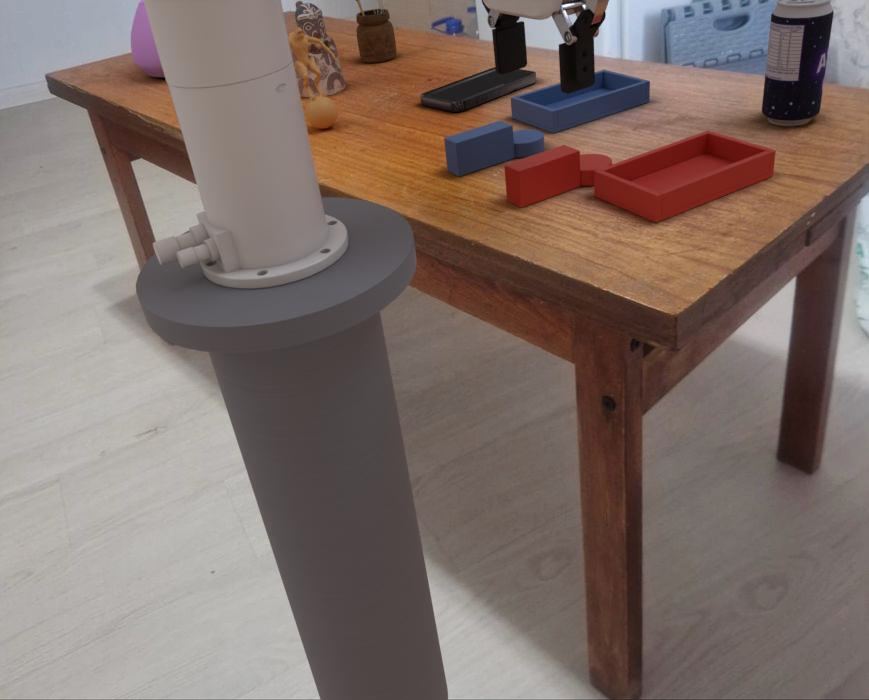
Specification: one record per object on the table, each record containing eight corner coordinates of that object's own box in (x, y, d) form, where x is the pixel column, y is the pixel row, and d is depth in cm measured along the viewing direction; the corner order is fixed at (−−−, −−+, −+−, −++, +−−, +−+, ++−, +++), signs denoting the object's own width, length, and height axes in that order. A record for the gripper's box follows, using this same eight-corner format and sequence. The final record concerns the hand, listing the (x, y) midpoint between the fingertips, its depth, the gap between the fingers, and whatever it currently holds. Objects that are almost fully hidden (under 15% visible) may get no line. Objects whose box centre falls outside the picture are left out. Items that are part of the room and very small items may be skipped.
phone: (416, 95, 106) (498, 65, 114) (417, 104, 107) (499, 73, 114) (456, 104, 101) (540, 72, 109) (457, 113, 102) (540, 80, 109)
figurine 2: (303, 140, 100) (282, 39, 94) (281, 131, 105) (259, 33, 98) (360, 121, 104) (343, 22, 97) (336, 113, 108) (318, 18, 102)
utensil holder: (383, 64, 127) (371, -19, 121) (351, 63, 130) (338, -18, 124) (404, 54, 131) (394, -27, 125) (373, 53, 134) (361, -26, 128)
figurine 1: (303, 101, 115) (284, 11, 109) (291, 90, 121) (273, 4, 114) (351, 90, 117) (335, 1, 110) (337, 79, 123) (322, -6, 116)
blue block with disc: (464, 179, 83) (460, 145, 82) (442, 168, 87) (438, 135, 85) (552, 149, 88) (551, 116, 86) (528, 140, 91) (526, 108, 89)
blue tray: (553, 133, 92) (552, 111, 90) (511, 118, 98) (510, 97, 97) (649, 102, 97) (650, 80, 96) (604, 89, 103) (604, 69, 102)
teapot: (287, 56, 140) (269, -31, 132) (170, 91, 129) (143, -3, 121) (227, 43, 155) (208, -36, 147) (118, 73, 144) (91, -11, 136)
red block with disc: (527, 211, 75) (525, 174, 73) (500, 197, 78) (497, 161, 77) (621, 176, 79) (622, 140, 77) (592, 165, 83) (592, 130, 81)
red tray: (656, 223, 70) (656, 195, 69) (594, 196, 76) (593, 170, 75) (773, 176, 75) (776, 150, 74) (706, 154, 81) (707, 130, 80)
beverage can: (819, 128, 84) (836, 4, 77) (759, 128, 86) (772, 7, 79) (818, 110, 88) (834, -9, 81) (761, 110, 90) (773, -6, 83)
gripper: (432, -133, 68) (456, 74, 78) (559, -140, 55) (570, 110, 65) (506, -148, 71) (521, 54, 80) (644, -157, 58) (643, 85, 67)
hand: (543, 79), depth 72 cm, fingers open, 9 cm apart
